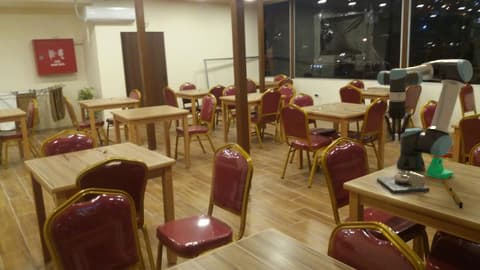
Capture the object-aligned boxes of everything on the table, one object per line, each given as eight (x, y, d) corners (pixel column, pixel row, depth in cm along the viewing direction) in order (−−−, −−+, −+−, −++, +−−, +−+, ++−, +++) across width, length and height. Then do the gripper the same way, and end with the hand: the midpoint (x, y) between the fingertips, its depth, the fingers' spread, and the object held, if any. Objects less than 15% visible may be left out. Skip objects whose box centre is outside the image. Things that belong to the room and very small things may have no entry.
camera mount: (438, 180, 206) (439, 161, 204) (425, 176, 213) (426, 158, 210) (454, 176, 210) (455, 158, 208) (441, 173, 217) (442, 155, 215)
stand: (411, 178, 210) (411, 169, 209) (431, 191, 190) (432, 181, 189) (376, 181, 209) (376, 172, 208) (393, 194, 189) (393, 184, 188)
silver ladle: (391, 179, 202) (391, 168, 201) (403, 177, 205) (403, 166, 204) (416, 189, 187) (417, 177, 186) (429, 187, 190) (430, 175, 188)
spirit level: (441, 183, 201) (442, 178, 201) (444, 183, 201) (445, 178, 201) (459, 208, 170) (459, 202, 169) (462, 209, 170) (463, 202, 169)
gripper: (385, 101, 189) (384, 149, 194) (413, 101, 188) (411, 148, 193) (381, 100, 197) (380, 145, 202) (408, 99, 195) (406, 144, 200)
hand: (395, 146), depth 197 cm, fingers closed
